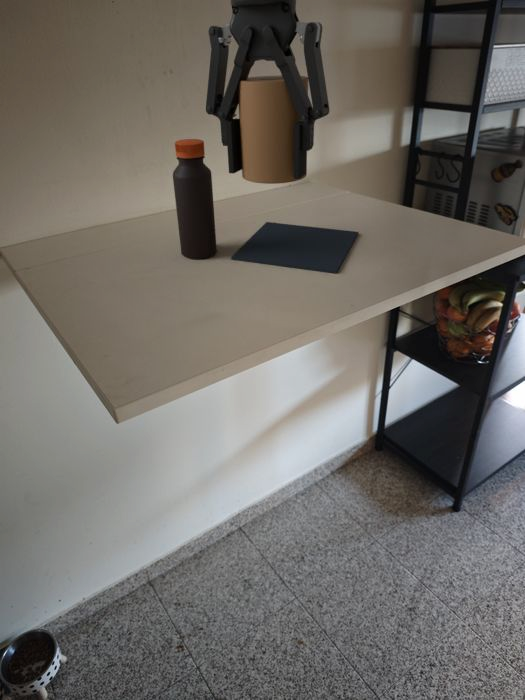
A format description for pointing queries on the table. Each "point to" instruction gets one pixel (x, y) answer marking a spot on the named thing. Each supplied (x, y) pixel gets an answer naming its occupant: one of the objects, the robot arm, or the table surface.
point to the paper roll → (267, 129)
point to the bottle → (194, 200)
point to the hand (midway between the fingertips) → (267, 173)
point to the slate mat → (298, 247)
